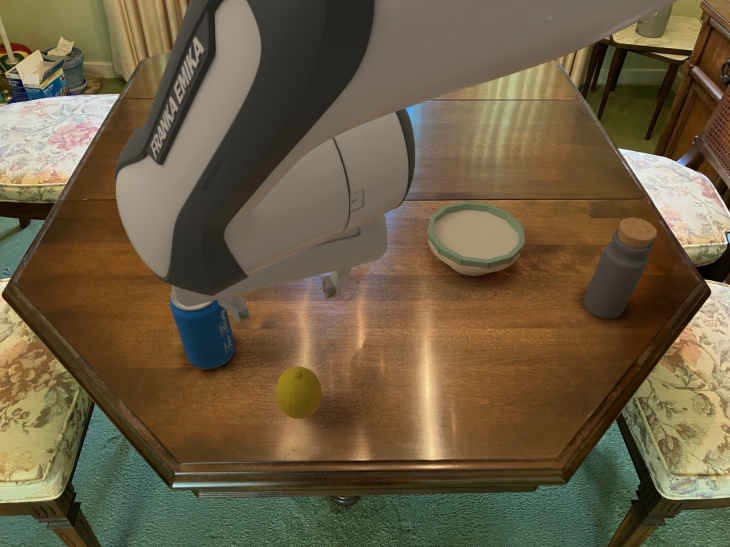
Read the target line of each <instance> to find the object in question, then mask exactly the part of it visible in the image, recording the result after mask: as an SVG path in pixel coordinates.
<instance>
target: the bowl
mask: <svg viewBox="0 0 730 547" xmlns="http://www.w3.org/2000/svg"><path fill="white" fill-rule="evenodd" d="M426 236H427V237H426V241H427V244H428V247H429V249H430V251H431V252H432V253H433V254H434V255H435V257H437V258H438V259H439V260H440V261H442V262H443V263H444V264H446V265H448V266H449V267H450V268H451V269H453V271H456V272H457V273H459V274H462V275H464V276H465V275H466V276H469V277H470V276H471V277H478V276H483V275H486V274H488V273H489V274H490V273H496V272H499V271H502V270H505V269H508V268H510V267H511V266H512V265H514V264H515V263H516V262H517V260H519V258H520V256H521V255H522V251H523V250H524V248H525V244H526V239H525V228H524V226H523V225H522V224H521V223H520V221H518V219H517V218H516V217H515V216H514V215H513V214H512V213H511V212H509V211H508V210H505V209H503V208H500V207H499V206H496V205H494V204H492V203H488V202H481V201H479V202H478V201H471V200H470V201H469V200H462V201H458V202H453V203H449V204H445V205H443V206H441V208H439V209H438V210H437V211H436V212H434V213H433V214H432V215H431V216H430V217H429V222H428V228H427V234H426Z"/></svg>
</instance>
